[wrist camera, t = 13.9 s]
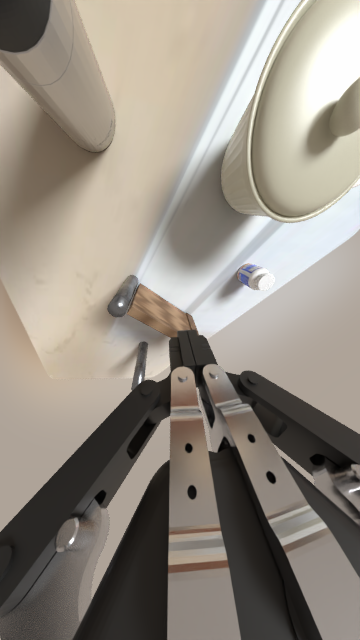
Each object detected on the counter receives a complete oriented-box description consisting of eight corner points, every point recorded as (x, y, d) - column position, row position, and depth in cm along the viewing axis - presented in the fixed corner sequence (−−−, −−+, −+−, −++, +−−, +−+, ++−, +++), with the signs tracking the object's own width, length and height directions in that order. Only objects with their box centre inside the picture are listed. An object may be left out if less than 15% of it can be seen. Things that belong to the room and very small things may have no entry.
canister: (265, 232, 36) (364, 234, 19) (197, 217, 33) (241, 201, 15) (309, 123, 27) (589, -78, 9) (222, 86, 24) (406, -335, 6)
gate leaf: (136, 288, 40) (126, 315, 27) (141, 282, 39) (132, 305, 27) (187, 321, 48) (196, 352, 35) (192, 316, 47) (203, 346, 34)
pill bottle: (247, 284, 44) (268, 296, 35) (233, 278, 42) (250, 290, 34) (258, 266, 41) (282, 275, 33) (243, 260, 40) (265, 268, 31)
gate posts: (125, 275, 38) (105, 302, 24) (137, 275, 38) (123, 301, 24) (140, 348, 52) (132, 392, 38) (148, 347, 52) (143, 391, 38)
